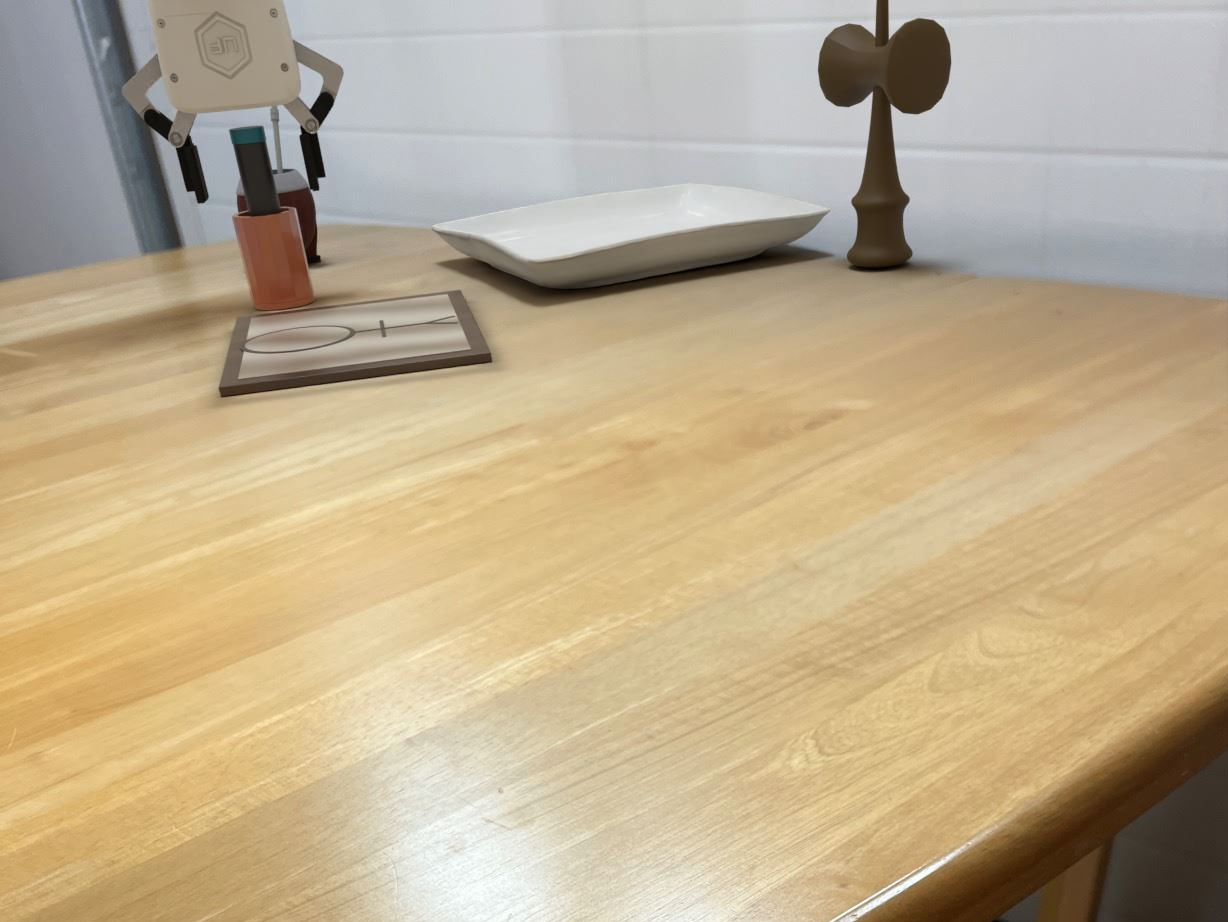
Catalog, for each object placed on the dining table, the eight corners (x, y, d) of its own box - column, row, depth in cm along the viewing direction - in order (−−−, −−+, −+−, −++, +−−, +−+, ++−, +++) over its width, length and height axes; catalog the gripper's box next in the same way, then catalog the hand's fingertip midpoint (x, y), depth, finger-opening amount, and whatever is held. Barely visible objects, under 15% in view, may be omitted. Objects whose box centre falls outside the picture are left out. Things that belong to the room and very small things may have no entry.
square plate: (694, 220, 134) (691, 176, 131) (836, 255, 113) (836, 203, 111) (433, 262, 125) (426, 216, 123) (536, 307, 104) (529, 253, 102)
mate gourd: (263, 276, 126) (220, 90, 118) (242, 266, 132) (200, 88, 123) (339, 263, 129) (303, 81, 120) (315, 254, 135) (279, 79, 126)
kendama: (887, 279, 103) (891, -37, 92) (813, 264, 110) (809, -31, 99) (947, 266, 106) (959, -44, 94) (872, 252, 113) (874, -38, 101)
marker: (280, 301, 112) (241, 130, 105) (261, 299, 114) (222, 129, 106) (306, 294, 114) (270, 125, 107) (287, 292, 115) (250, 125, 108)
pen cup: (277, 312, 111) (256, 218, 107) (241, 307, 114) (219, 216, 110) (327, 299, 114) (308, 207, 110) (290, 295, 117) (270, 205, 113)
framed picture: (492, 361, 91) (490, 350, 90) (220, 396, 88) (217, 385, 88) (461, 297, 110) (460, 288, 110) (238, 324, 108) (236, 315, 107)
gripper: (71, -60, 95) (144, 213, 105) (319, -80, 97) (368, 189, 107) (87, -56, 101) (155, 201, 111) (320, -75, 103) (366, 178, 113)
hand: (259, 194), depth 109 cm, fingers open, 8 cm apart
